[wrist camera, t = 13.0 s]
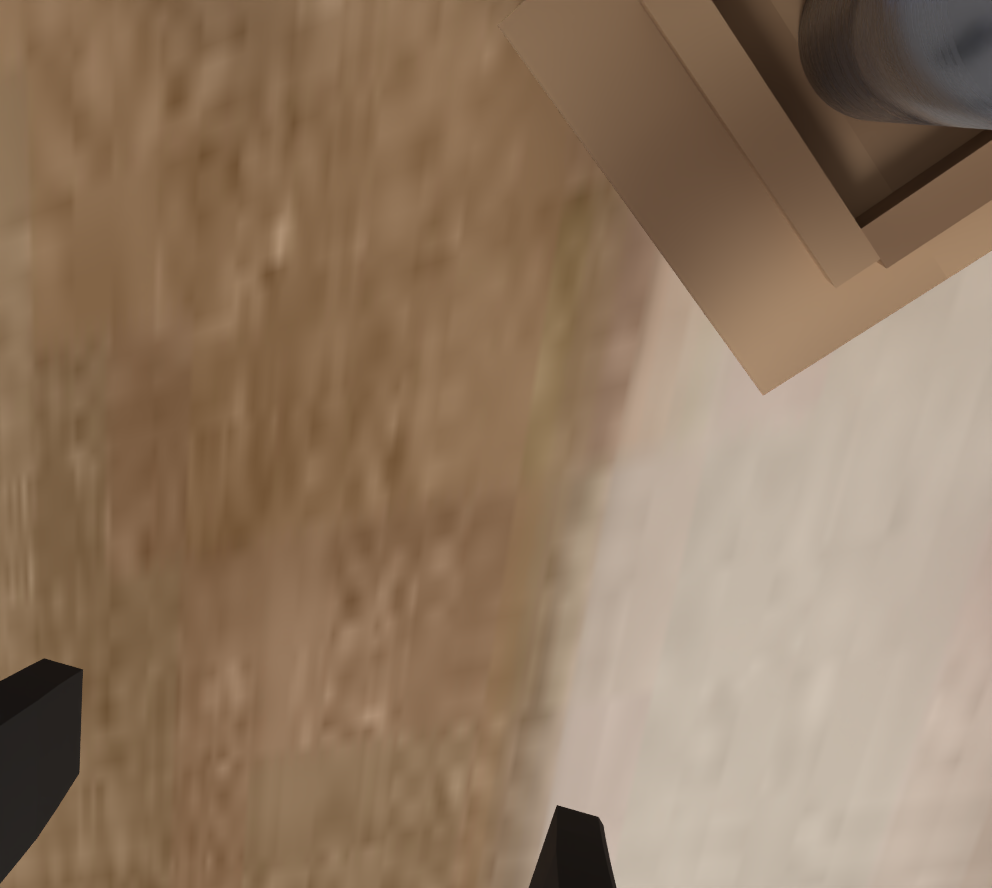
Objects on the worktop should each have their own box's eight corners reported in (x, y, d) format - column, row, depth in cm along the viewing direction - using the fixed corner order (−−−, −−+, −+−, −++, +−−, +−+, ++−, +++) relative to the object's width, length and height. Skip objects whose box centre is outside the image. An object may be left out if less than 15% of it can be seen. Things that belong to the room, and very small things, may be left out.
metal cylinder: (782, -37, 13) (925, -170, 7) (976, -109, 13) (1338, -331, 6) (816, 144, 14) (971, 178, 8) (999, 87, 13) (1338, 72, 7)
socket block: (524, 41, 18) (489, 20, 13) (985, -371, 14) (1143, -580, 10) (737, 340, 19) (769, 409, 15) (1195, 34, 16) (1411, 8, 12)
